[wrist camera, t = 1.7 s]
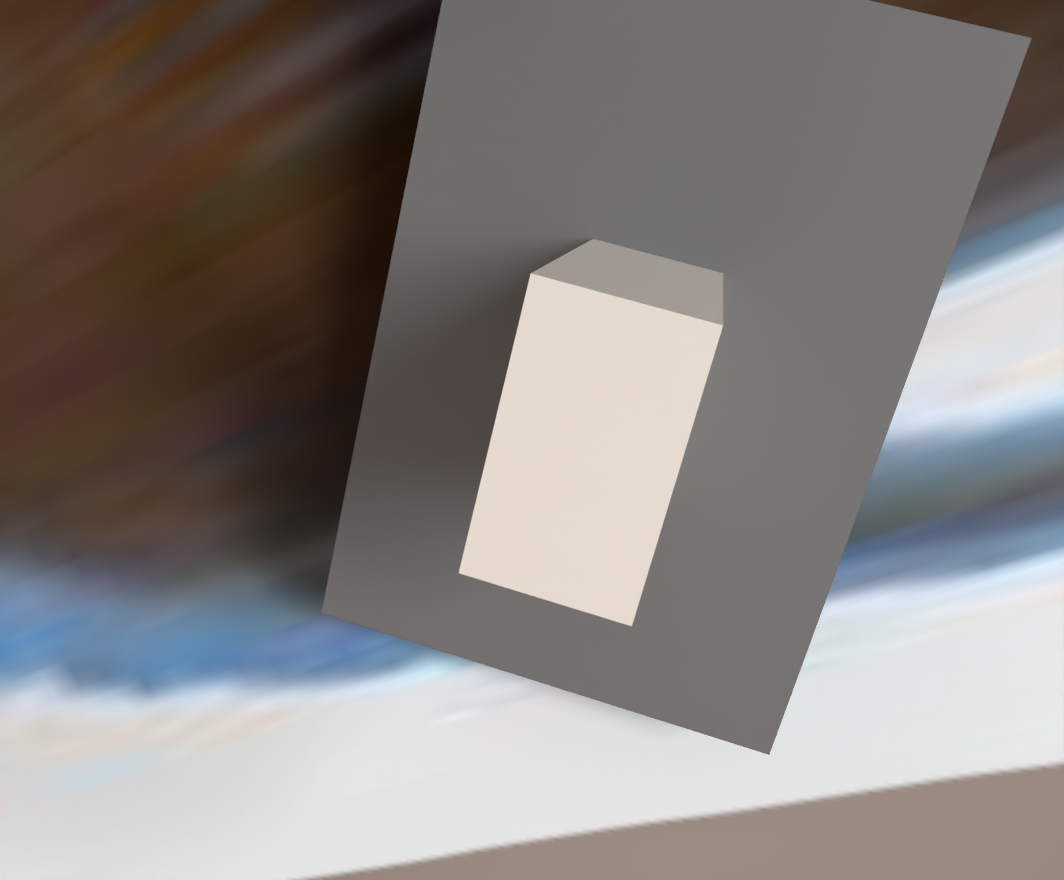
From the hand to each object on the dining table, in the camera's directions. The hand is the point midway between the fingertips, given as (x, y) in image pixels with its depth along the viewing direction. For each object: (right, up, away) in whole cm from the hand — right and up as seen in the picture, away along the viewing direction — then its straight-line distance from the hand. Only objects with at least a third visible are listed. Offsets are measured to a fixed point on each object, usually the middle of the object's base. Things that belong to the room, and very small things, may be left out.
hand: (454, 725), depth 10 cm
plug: (+4, +6, +21) cm, 22 cm away
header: (+4, +6, +21) cm, 22 cm away
